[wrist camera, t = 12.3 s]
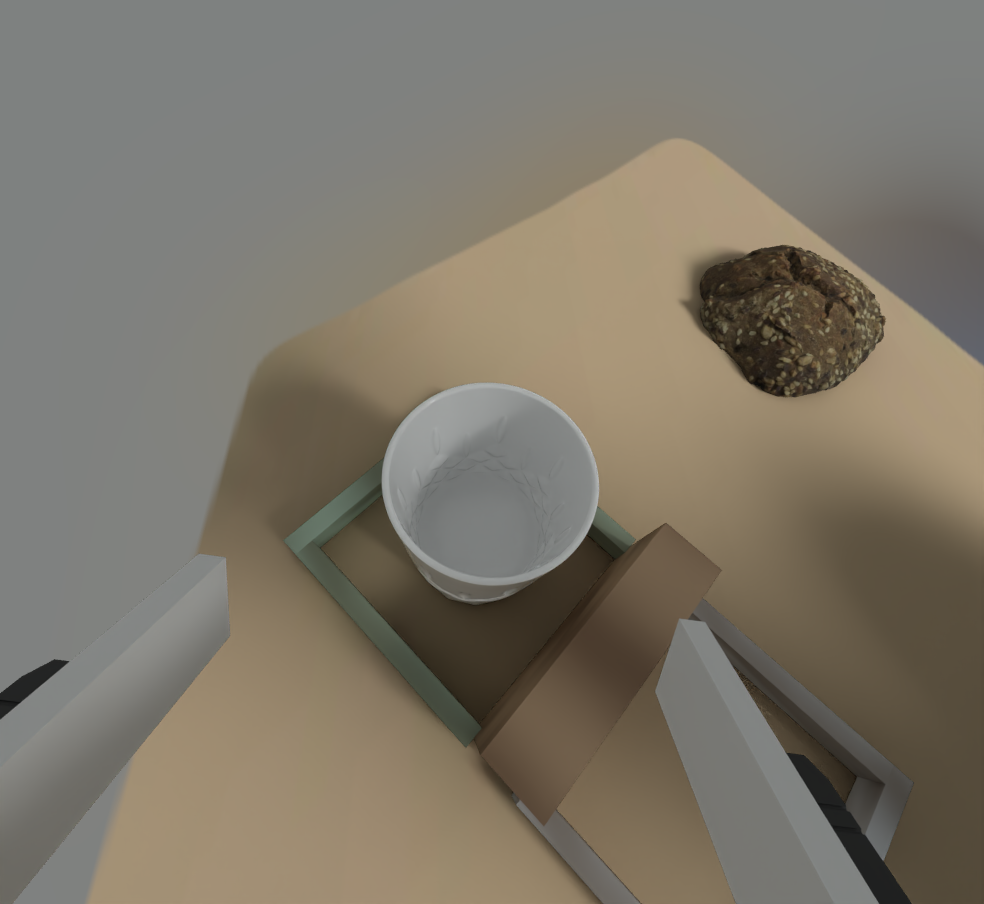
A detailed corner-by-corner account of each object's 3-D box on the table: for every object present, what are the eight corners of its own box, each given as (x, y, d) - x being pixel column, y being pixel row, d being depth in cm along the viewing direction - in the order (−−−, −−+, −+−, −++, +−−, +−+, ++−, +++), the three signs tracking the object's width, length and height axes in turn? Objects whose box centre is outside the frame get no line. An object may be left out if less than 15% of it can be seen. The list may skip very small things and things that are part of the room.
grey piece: (464, 404, 29) (468, 344, 24) (883, 775, 22) (1023, 809, 17) (292, 547, 24) (249, 513, 19) (758, 1074, 18) (896, 1255, 12)
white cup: (408, 475, 27) (389, 378, 18) (540, 477, 28) (586, 384, 19) (400, 618, 23) (371, 586, 14) (551, 615, 24) (613, 584, 15)
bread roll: (887, 352, 35) (952, 306, 30) (782, 422, 31) (839, 381, 27) (766, 245, 39) (808, 190, 35) (661, 296, 35) (692, 242, 31)
